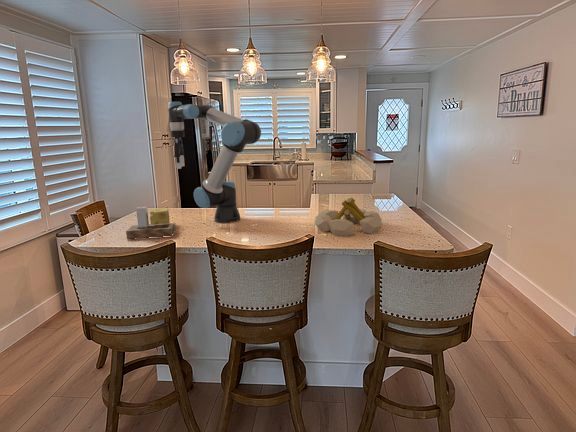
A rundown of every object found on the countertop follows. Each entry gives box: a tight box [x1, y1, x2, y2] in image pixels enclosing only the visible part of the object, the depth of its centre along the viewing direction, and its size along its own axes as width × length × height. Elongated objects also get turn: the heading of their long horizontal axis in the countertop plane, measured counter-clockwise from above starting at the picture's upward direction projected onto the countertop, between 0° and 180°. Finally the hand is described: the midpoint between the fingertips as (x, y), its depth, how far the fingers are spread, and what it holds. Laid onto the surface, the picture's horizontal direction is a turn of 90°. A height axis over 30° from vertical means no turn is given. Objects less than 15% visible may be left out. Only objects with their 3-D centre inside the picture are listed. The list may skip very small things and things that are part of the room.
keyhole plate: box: [125, 222, 176, 240], centre depth 210 cm, size 22×12×4 cm, turn 96°
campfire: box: [314, 197, 383, 237], centre depth 211 cm, size 35×34×17 cm
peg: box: [135, 205, 150, 229], centre depth 209 cm, size 6×6×14 cm
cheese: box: [149, 207, 170, 224], centre depth 227 cm, size 10×11×10 cm
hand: (180, 167), depth 235 cm, fingers open, 13 cm apart
